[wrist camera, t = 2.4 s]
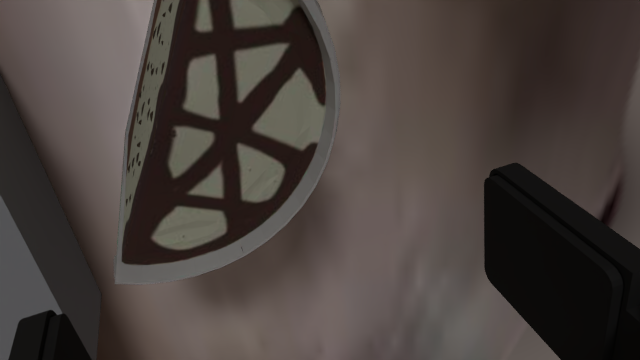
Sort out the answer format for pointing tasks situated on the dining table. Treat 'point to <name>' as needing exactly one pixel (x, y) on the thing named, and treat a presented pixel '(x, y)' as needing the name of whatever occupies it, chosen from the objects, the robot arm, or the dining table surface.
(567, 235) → the robot arm
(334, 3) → the dining table surface
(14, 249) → the grey block
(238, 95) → the food container
